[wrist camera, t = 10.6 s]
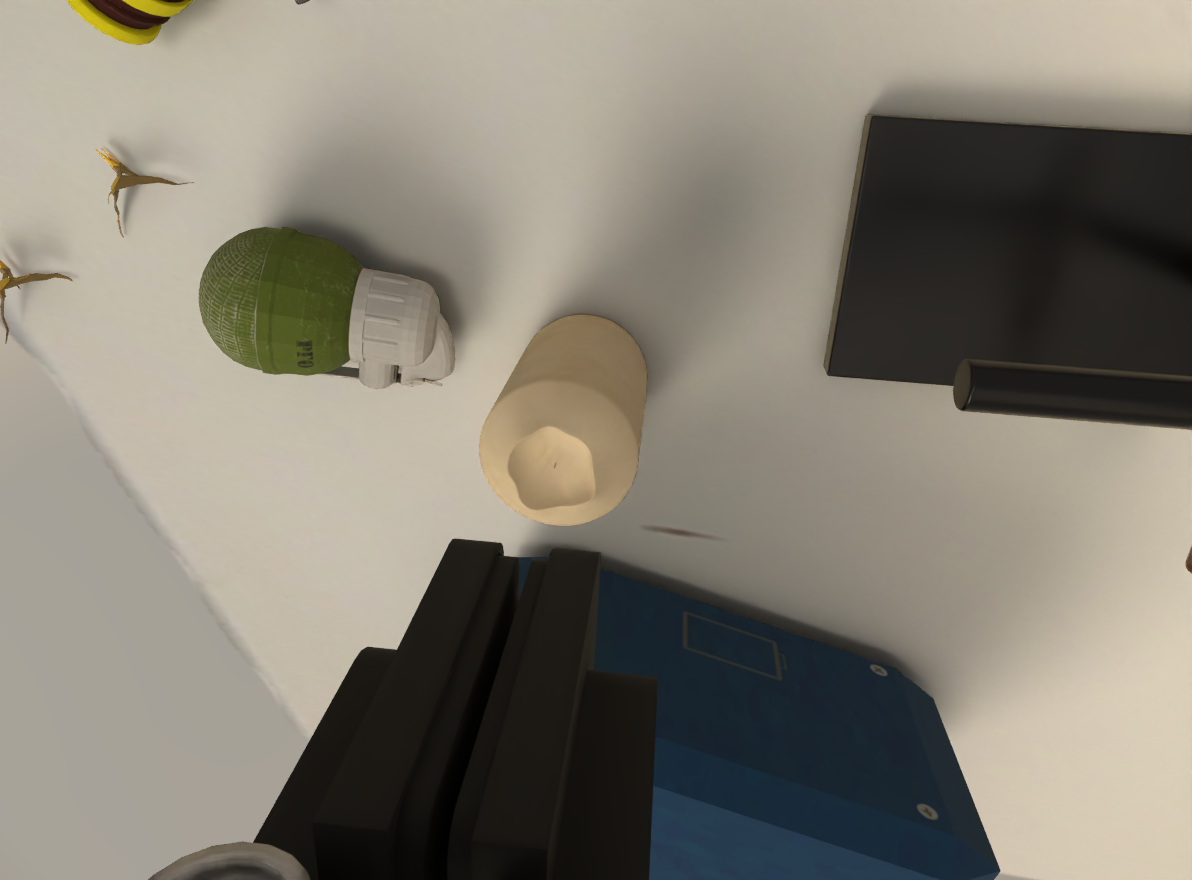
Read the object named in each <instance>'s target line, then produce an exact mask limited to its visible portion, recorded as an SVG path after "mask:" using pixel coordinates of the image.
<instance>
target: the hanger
mask: <svg viewBox="0 0 1192 880" xmlns="http://www.w3.org/2000/svg"><path fill="white" fill-rule="evenodd" d="M1186 568H1187V570H1188V571H1189V572H1190V573H1192V547H1191V549H1190V552H1189V554H1188V557H1187V560H1186Z"/></svg>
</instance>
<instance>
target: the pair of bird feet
mask: <svg viewBox="0 0 1192 880" xmlns="http://www.w3.org/2000/svg"><path fill="white" fill-rule="evenodd" d="M95 150H96V149H95ZM102 150H103V151H104V152H105V154H106V155H107V156H108V157H106V156H105V155H103V154H102V153H100V152H99V151H98V150H96V151H97V152H98V153H99V154H100V155H101V156H102V157H103V158H104V159H105V160H106V161H107V162H108V163H109V164H110V165H111V167H112V169H113V170H114V171H116V172H117V178H116V179H115V180H114V182H113V184H112V186H111V190H112V191H111V192H110V194H112V193H113V196H114V201H115V202H114V208H115V210H116V212H117V215H118V225H119V229H120V233H121V235H122V237H123V238H124V236H123V234H122V232H121V227H120V221H119V211H118V208H117V205H116V202H117V198H118V193H119V189H122V188H126V187H131V186H134V185H137V184H149V183H165V184H172V185H179V184H177V183H174V182H171V181H168V180H166V179H163V178H158V177H151V176H138V175H136V174H135V173H133V172H132V171H130V170H129V169H128V168H127V167H125V166H124V165H123V164H122V163H121V162H119V161H118V160H116V159H115V158H113V157H112V156H111V155H110V154H109V153H107V152H106V151H105V150H104V149H102ZM122 173H125V174H128V175H131V176H127V175H122ZM192 183H194V182H192ZM182 184H187V183H182ZM110 194H109V195H110ZM109 195H108V199H109ZM108 201H109V200H108ZM109 203H110V202H108V204H109ZM0 272H1V273H2V274H3V279H2V280H1V281H0V298H1V306H0V307H1V316H2V320H3V323H4V325H5V328H6V330H7V332H6V342H7V337H8V332H9V329H8V326H7V323H6V321H5V318H4V299H5V297H6V296H5V290H4V289H8V288H11V287H14V286H17V287H18V288H19V289H20V287H19V286H18V285H19V284H23V283H27V282H31V281H40V280H48V279H51V278H54V277H57V278H65V279H69V280H70V281H73V280H72V279H70V278H69V277H67V276H64V275H61V274H58V273H55V274H38V273H34V274H29V275H27V276H22V277H17V278H14V277H13V275H12V273H11V271H10V269H9V268H8V267H7V266H6V265H5V264H4V263H3V262H2V261H1V260H0ZM8 276H9V277H10V278H8Z"/></svg>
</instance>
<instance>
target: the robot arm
mask: <svg viewBox="0 0 1192 880" xmlns="http://www.w3.org/2000/svg"><path fill="white" fill-rule="evenodd" d="M600 562H601V554H600V552H591V551H580V550H570V549H559V548H553V549H552V551H551V554H550V557H549V560H540V559H532V561H531V564H530V567H529V570H528V574H527V577H526V580H525V583H524V587H523V590H522V593H521V596H520V599H519V586H520V562H519V558H518V557H509V556H504V551H503V546H502V544H501V543H496V542H485V541H475V540H464V539H452V541H451V542H450V544H449V545H448V548H447V550H446V552H445V554H444V556H443V558H442V560H441V562H440V564H439V566H438V568H437V570H436V572H435V574H434V576H433V578H432V580H431V582H430V584H429V586H428V588H427V590H426V592H425V594H424V596H423V598H422V600H421V602H420V604H419V606H418V608H417V610H416V612H415V614H414V616H413V618H412V621H411V623H410V625H409V627H408V629H407V631H406V633H405V635H404V637H403V639H402V641H401V643H400V645H399V647H398V649H397V650H394V649H384V648H374V647H366V648H365V649H363V650H361V652H360V653H359V654H358V656H357V657H356V659H355V660H354V662H353V664H352V666H351V667H350V669H349V671H348V673H347V675H346V676H345V678H344V680H343V682H342V684H341V685H340V687H339V689H338V691H337V693H336V694H335V696H334V698H333V700H332V702H331V703H330V705H329V707H328V709H327V711H326V712H325V714H324V716H323V718H322V720H321V721H320V723H319V725H318V727H317V729H316V730H315V732H314V734H313V736H312V738H311V739H310V741H309V743H308V745H307V746H306V749H305V750H304V752H303V754H302V755H301V757H300V759H299V761H298V763H297V765H296V766H295V768H294V770H293V772H292V773H291V775H290V777H289V779H288V781H287V782H286V784H285V786H284V788H283V790H282V792H281V794H280V795H279V797H278V799H277V800H276V802H275V804H274V806H273V808H272V809H271V811H270V813H269V815H268V817H267V818H266V820H265V822H264V824H263V826H262V828H261V829H260V831H259V833H258V835H257V836H256V838H255V840H254V842H253V843H249V842H237V843H230V844H223V845H215V846H211V847H209V848H206V849H203V850H200V851H198V852H195V853H192V854H189V855H187V856H184V857H182V858H180V859H178V860H177V861H175V862H174V863H172V864H170V865H169V866H167V867H166V868H164V869H162V870H161V871H159V872H157V873H156V874H154V875H153V876H152V877H151V878H149V879H148V880H649V871H650V848H651V825H652V803H653V780H654V757H655V734H656V712H657V688H658V677H653V676H643V675H633V674H624V673H614V672H605V671H595V670H594V658H595V642H596V626H597V611H598V595H599V579H600Z"/></svg>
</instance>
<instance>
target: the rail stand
mask: <svg viewBox="0 0 1192 880" xmlns="http://www.w3.org/2000/svg"><path fill="white" fill-rule="evenodd" d="M824 368H825V371H826V373H827V375H828V376H836V377H849V378H861V379H874V380H886V381H899V382H911V383H924V384H936V385H949V386H954V387H953V395H954V402H955V405H956V407H957V408H958V409H959V410H961V411H968V412H980V413H992V414H1005V415H1017V416H1029V417H1041V418H1053V419H1066V420H1078V421H1090V422H1102V423H1114V424H1127V425H1139V426H1151V427H1163V428H1176V429H1188V430H1192V133H1177V132H1161V131H1144V130H1127V129H1111V128H1094V127H1077V126H1061V125H1044V124H1027V123H1011V122H994V121H977V120H960V119H944V118H927V117H910V116H894V115H877V114H867V115H866V116H865V122H864V128H863V134H862V140H861V146H860V152H859V158H858V164H857V170H856V176H855V182H854V188H853V193H852V199H851V205H850V211H849V217H848V223H847V229H846V235H845V241H844V247H843V253H842V259H841V265H840V271H839V277H838V283H837V289H836V294H835V300H834V306H833V312H832V318H831V324H830V330H829V336H828V342H827V348H826V354H825V360H824Z"/></svg>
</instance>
